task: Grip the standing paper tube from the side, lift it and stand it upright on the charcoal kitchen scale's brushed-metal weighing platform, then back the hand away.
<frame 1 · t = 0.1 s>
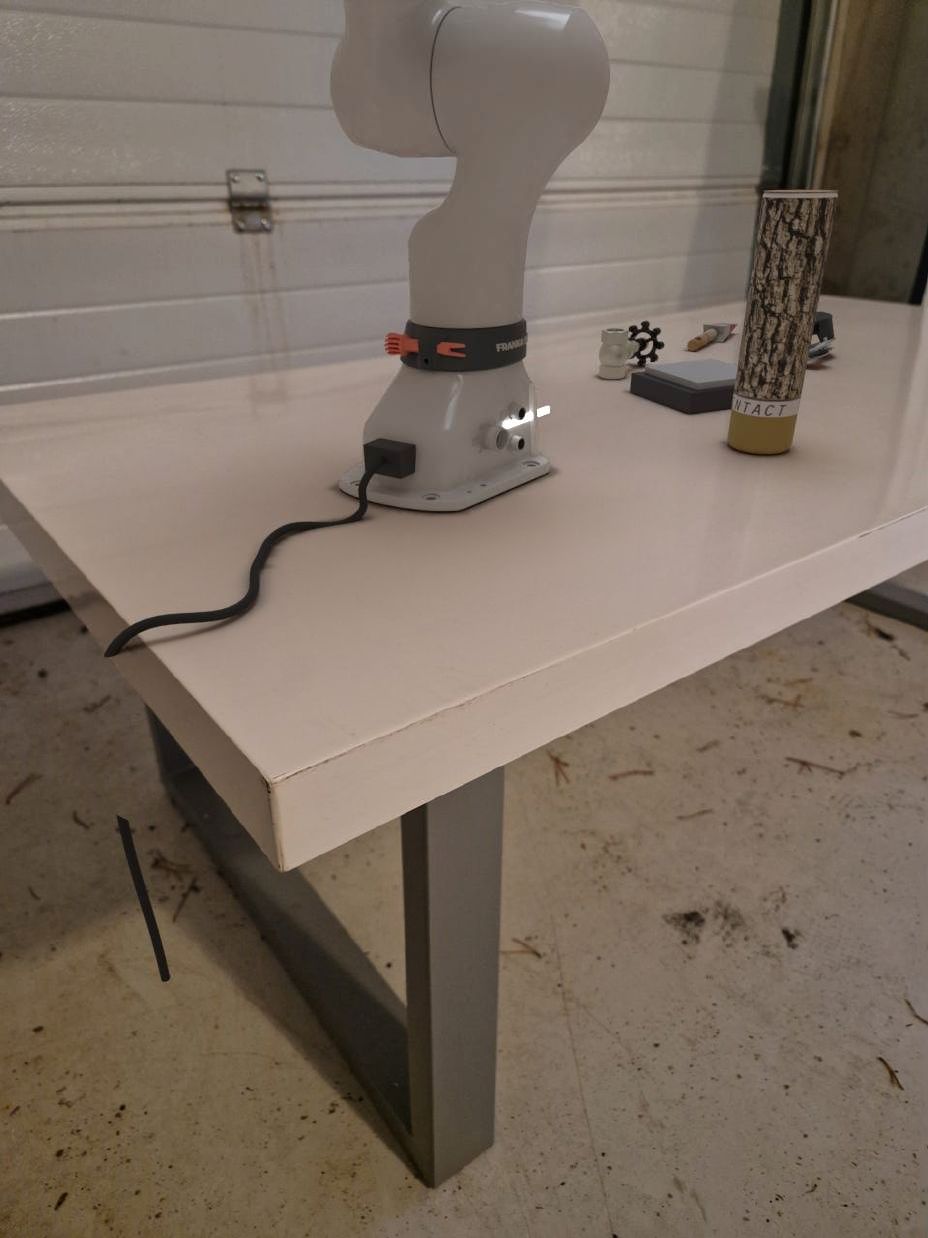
scale: (698, 397, 110), on the table
valve: (624, 373, 124), on the table
paper tube: (758, 448, 91), on the table
paintbrush: (711, 342, 145), on the table
bicycle component: (791, 358, 132), on the table
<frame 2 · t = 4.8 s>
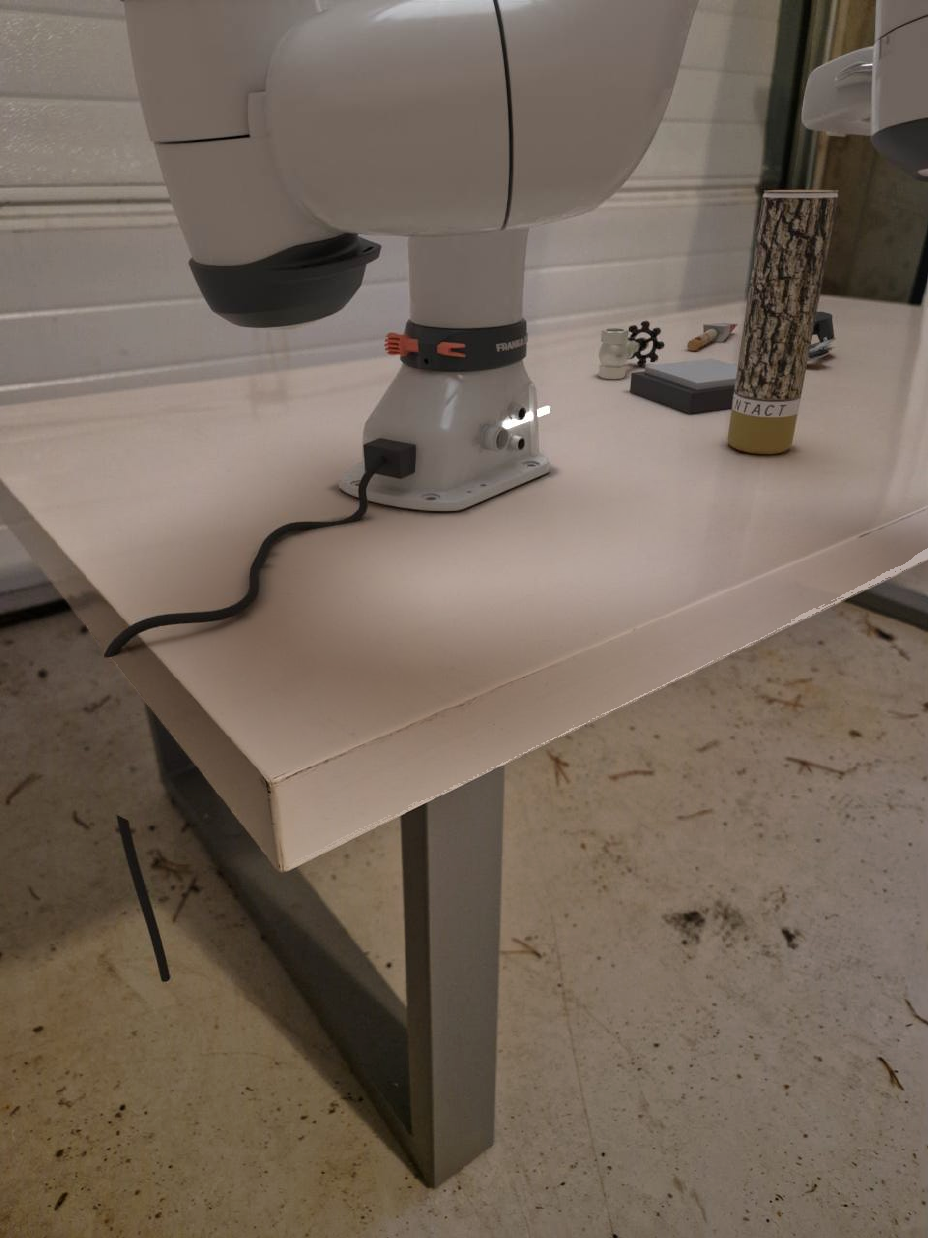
hand: (892, 130, 65), 30 cm above the table, tool horizontal, fingers open, 8 cm apart
nothing on the table moved.
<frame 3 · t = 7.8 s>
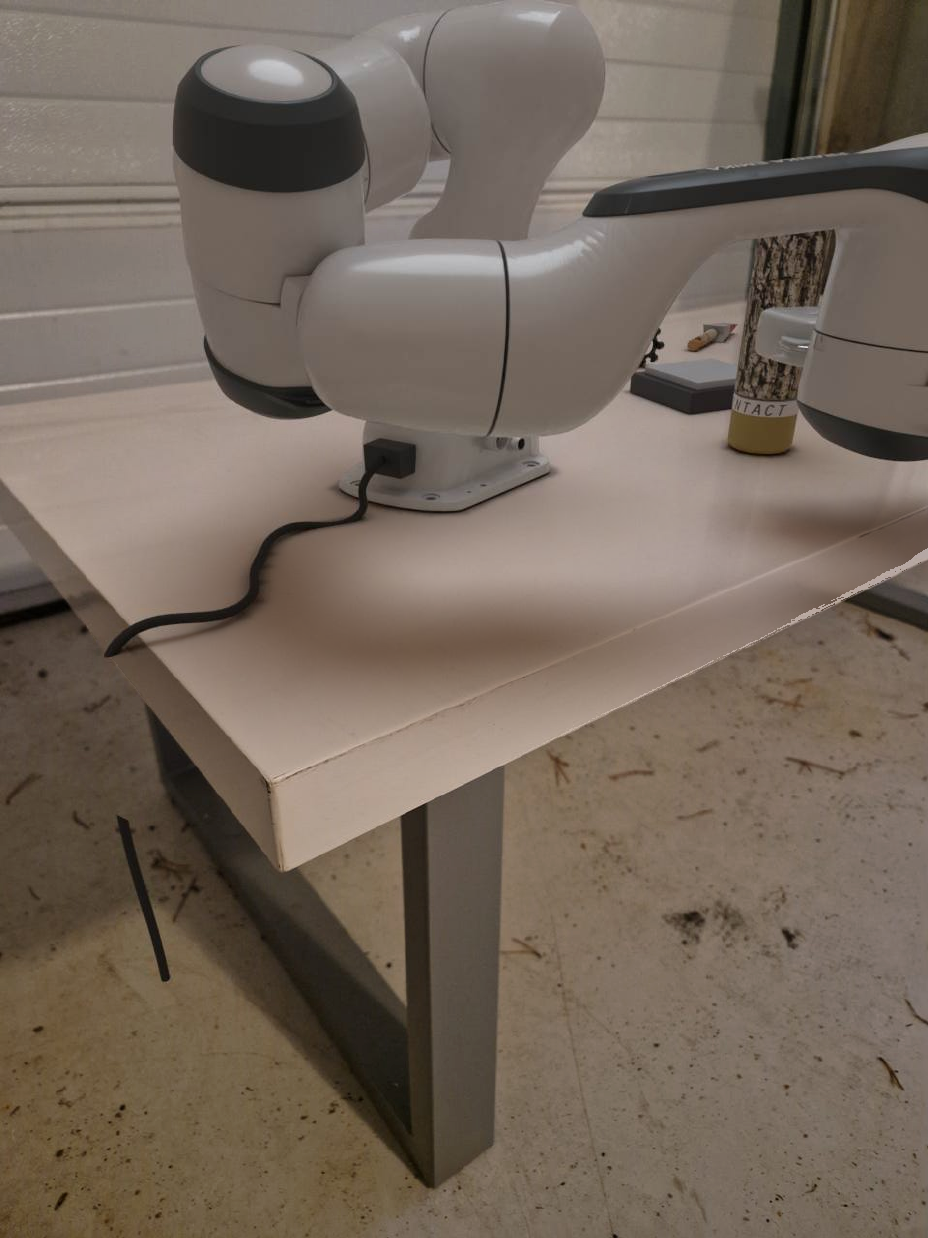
hand: (839, 317, 73), 15 cm above the table, tool horizontal, fingers open, 8 cm apart
nothing on the table moved.
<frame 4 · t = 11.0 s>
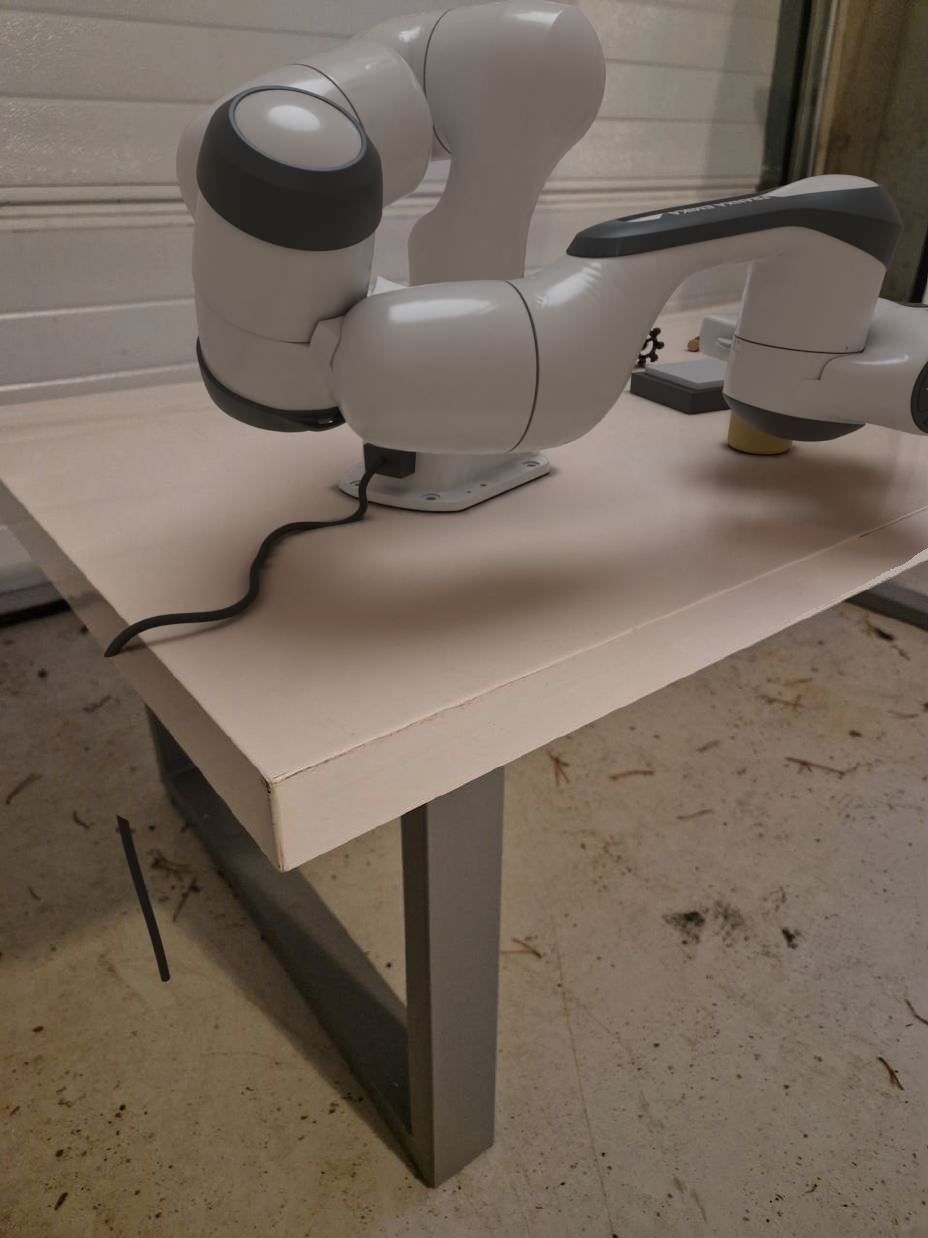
hand: (775, 321, 85), 13 cm above the table, tool horizontal, fingers closed on paper tube, 7 cm apart
paper tube: (758, 448, 91), on the table, touching gripper
everything else where it was.
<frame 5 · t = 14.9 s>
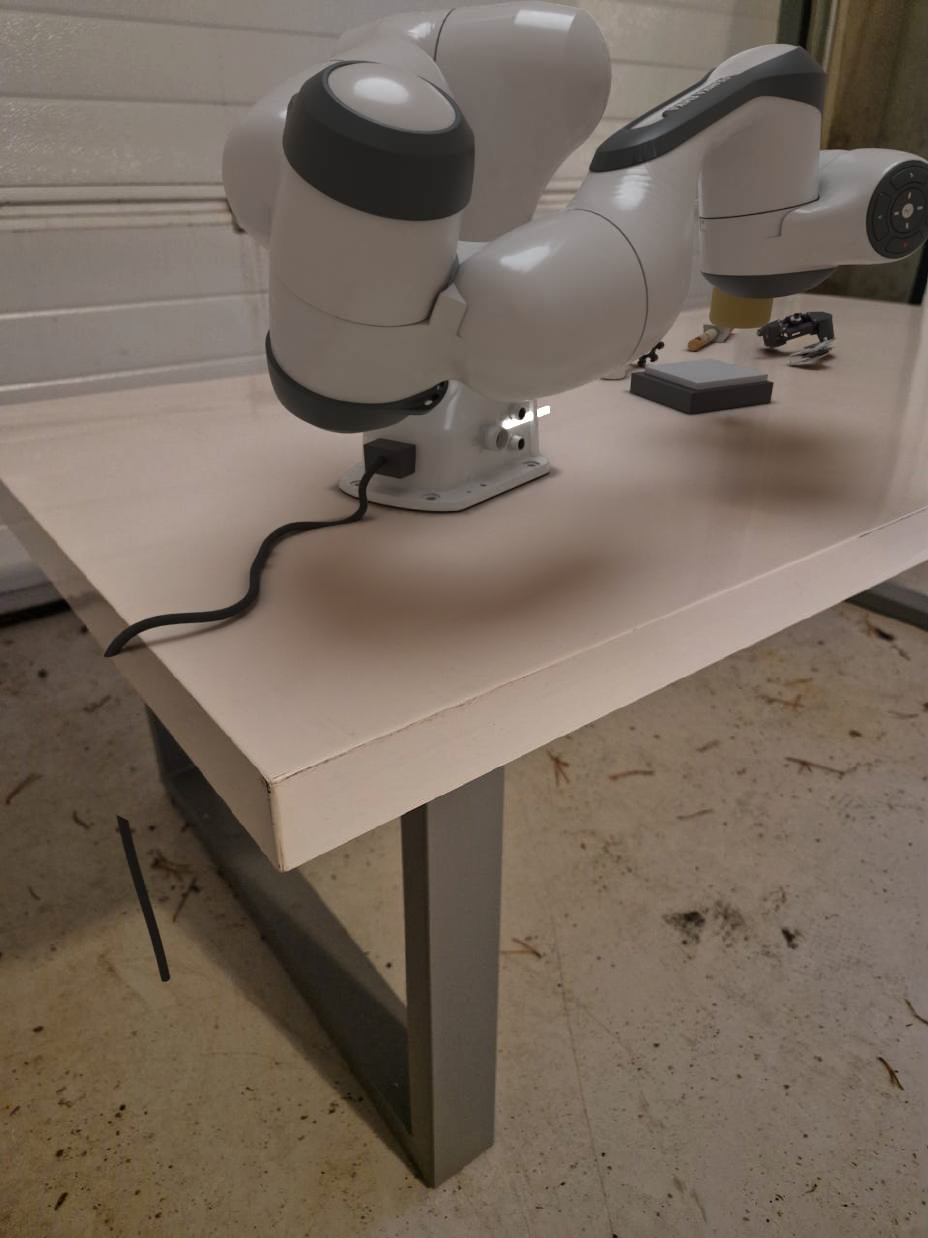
hand: (753, 198, 90), 24 cm above the table, tool horizontal, fingers closed on paper tube, 7 cm apart
paper tube: (738, 326, 96), point 11 cm above the table, touching gripper
everything else where it was.
when the fingers open (17 cm above the table, at t = 18.9 s): paper tube stays where it is, resting on scale.
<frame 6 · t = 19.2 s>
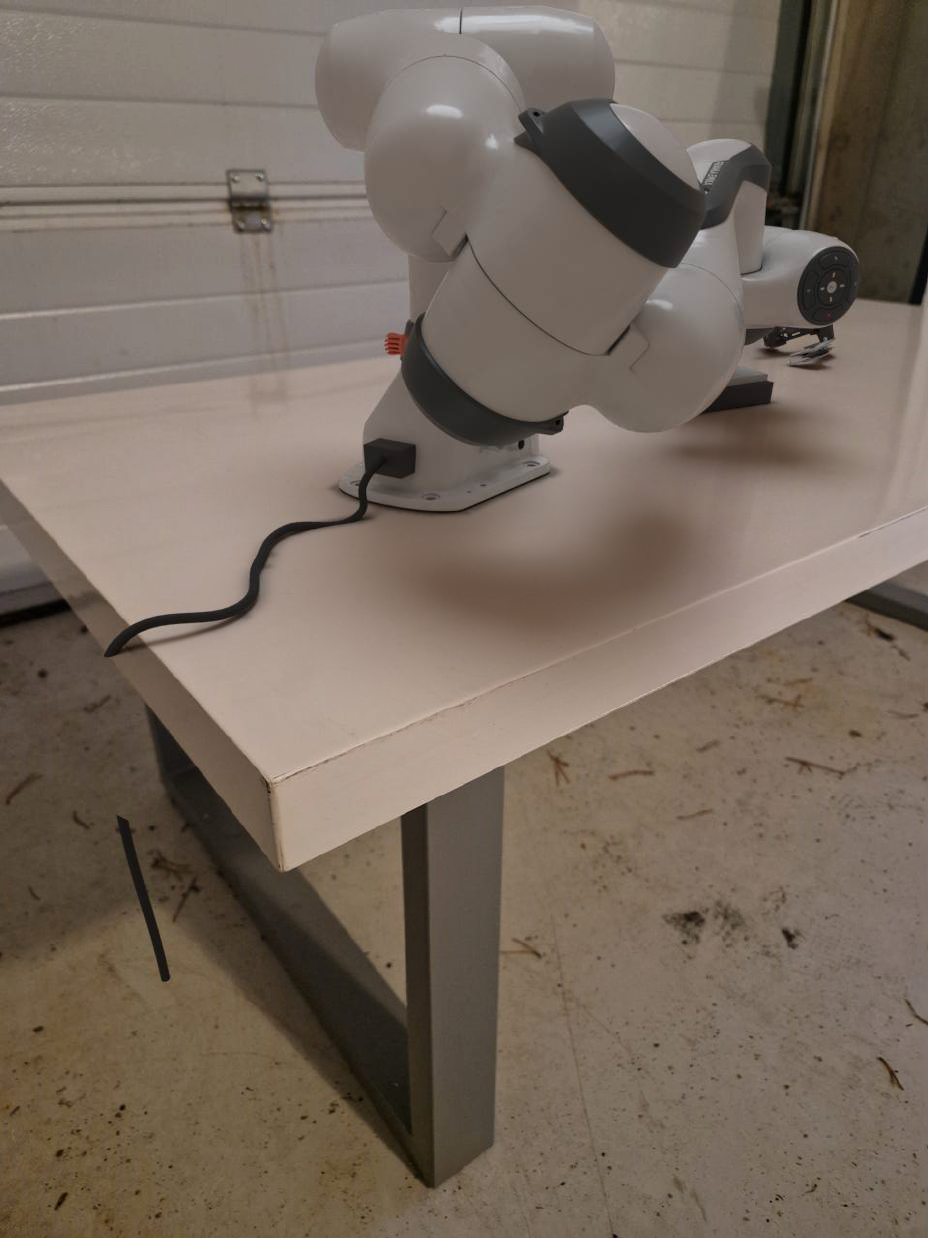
hand: (712, 258, 103), 17 cm above the table, tool horizontal, fingers open, 8 cm apart
paper tube: (701, 372, 109), point 3 cm above the table, touching scale
everything else where it was.
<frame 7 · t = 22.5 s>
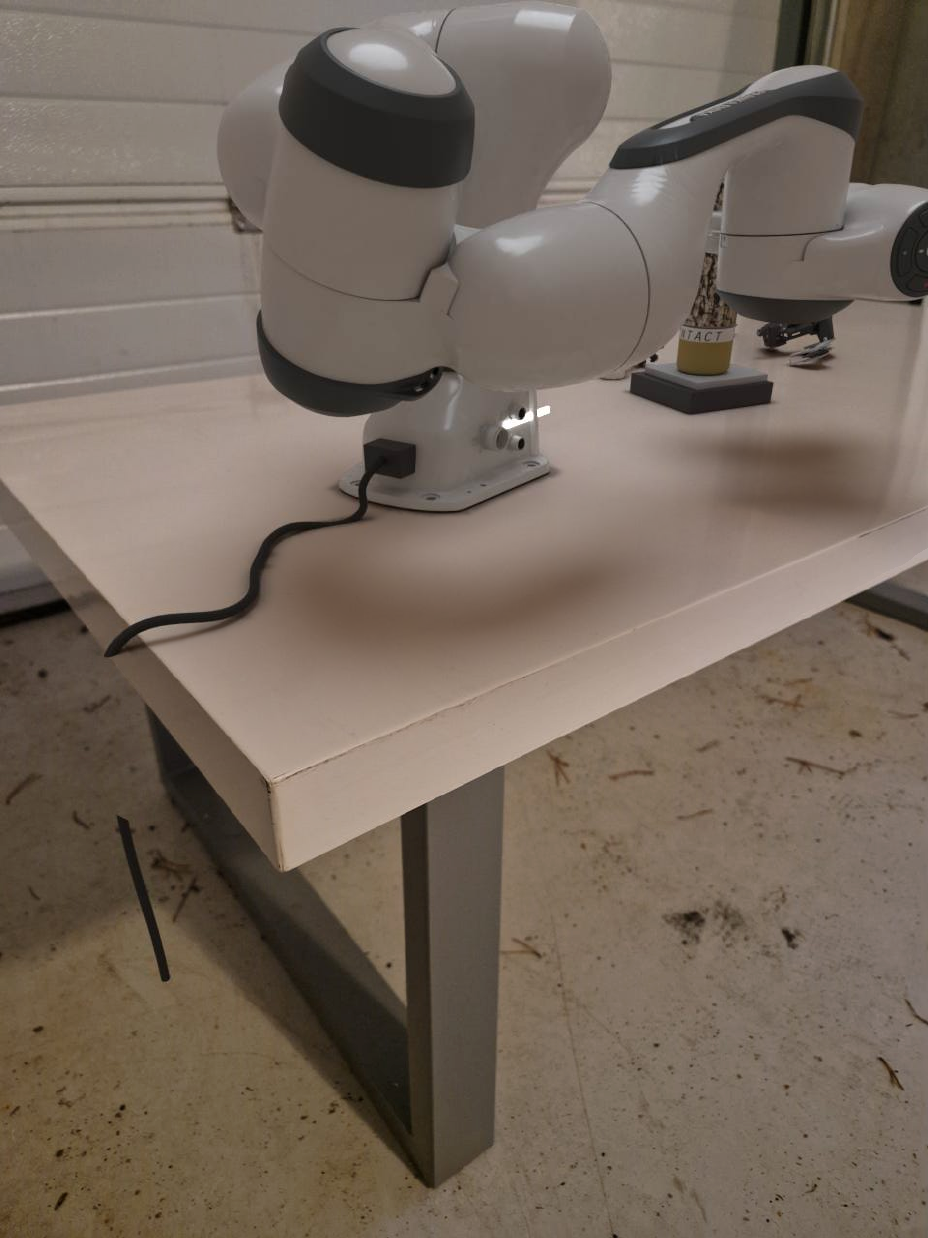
hand: (765, 226, 89), 21 cm above the table, tool horizontal, fingers open, 8 cm apart
nothing on the table moved.
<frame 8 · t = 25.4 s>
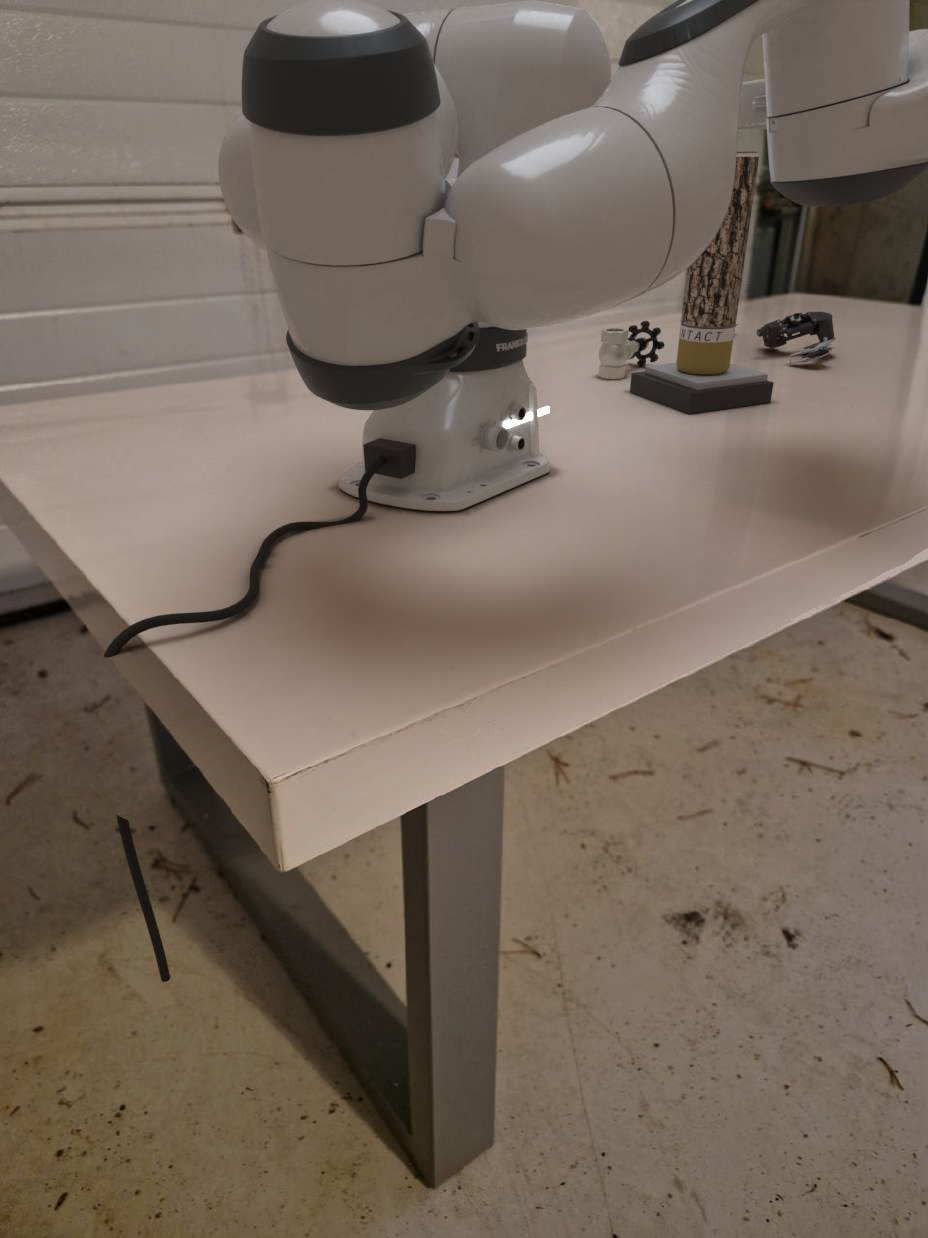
hand: (810, 108, 81), 32 cm above the table, tool horizontal, fingers open, 8 cm apart
nothing on the table moved.
at the end: paper tube inside the target area on the scale (0.3 cm from its centre), point 3.3 cm above the scale's base; paper tube tilted 0°; the gripper is holding nothing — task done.
